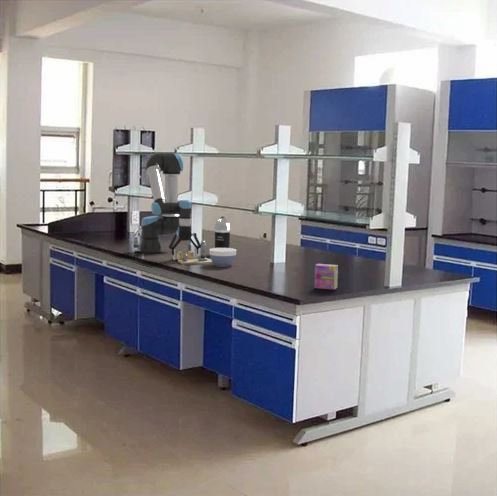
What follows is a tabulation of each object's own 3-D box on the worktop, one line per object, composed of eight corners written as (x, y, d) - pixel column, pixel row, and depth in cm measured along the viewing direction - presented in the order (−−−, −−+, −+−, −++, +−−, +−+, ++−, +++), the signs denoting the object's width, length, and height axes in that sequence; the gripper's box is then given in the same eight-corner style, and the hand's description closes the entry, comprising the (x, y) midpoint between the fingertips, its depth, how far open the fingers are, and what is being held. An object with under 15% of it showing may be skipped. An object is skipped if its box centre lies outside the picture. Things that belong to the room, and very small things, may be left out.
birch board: (177, 261, 431) (177, 259, 430) (209, 260, 437) (209, 258, 437) (183, 264, 419) (183, 262, 419) (215, 263, 426) (215, 261, 426)
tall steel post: (197, 259, 431) (197, 240, 430) (205, 259, 433) (206, 240, 431) (200, 261, 426) (200, 241, 425) (208, 260, 428) (208, 241, 426)
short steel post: (182, 260, 427) (182, 254, 426) (187, 260, 428) (187, 254, 427) (183, 261, 424) (183, 254, 423) (188, 261, 425) (188, 254, 424)
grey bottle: (227, 256, 456) (228, 217, 453) (212, 255, 458) (212, 216, 455) (231, 254, 466) (232, 216, 463) (216, 253, 468) (216, 215, 465)
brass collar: (176, 259, 441) (176, 251, 440) (189, 258, 444) (189, 250, 443) (180, 261, 433) (180, 253, 432) (193, 260, 436) (193, 252, 435)
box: (314, 288, 357) (314, 264, 355) (317, 286, 362) (318, 263, 360) (334, 290, 352) (334, 266, 351) (337, 288, 358) (338, 264, 356)
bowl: (231, 268, 410) (231, 252, 408) (205, 266, 414) (205, 250, 413) (239, 264, 425) (239, 248, 424) (214, 262, 429) (214, 247, 428)
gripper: (166, 226, 427) (166, 261, 430) (206, 225, 436) (206, 259, 439) (163, 225, 434) (163, 259, 437) (203, 224, 443) (202, 258, 446)
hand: (185, 259), depth 438 cm, fingers open, 13 cm apart
